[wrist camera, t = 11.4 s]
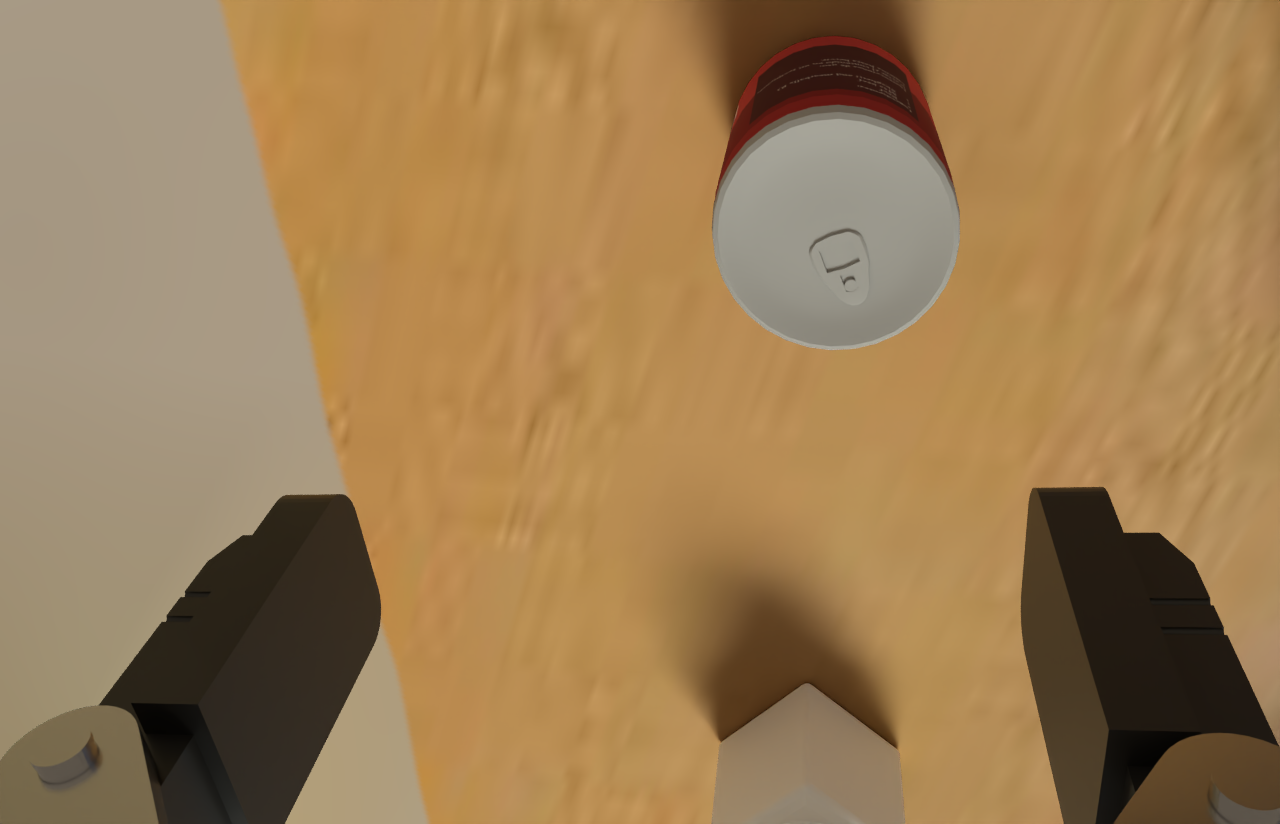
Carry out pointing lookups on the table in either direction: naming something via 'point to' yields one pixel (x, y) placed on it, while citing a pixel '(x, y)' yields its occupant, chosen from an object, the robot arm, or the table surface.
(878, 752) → the medicine bottle
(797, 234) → the canned food
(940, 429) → the table surface
